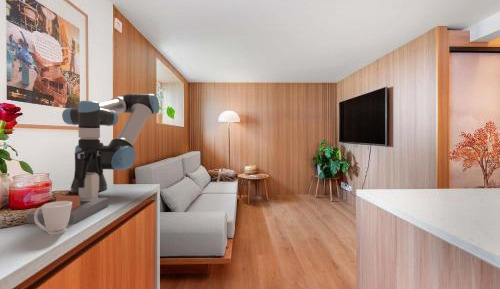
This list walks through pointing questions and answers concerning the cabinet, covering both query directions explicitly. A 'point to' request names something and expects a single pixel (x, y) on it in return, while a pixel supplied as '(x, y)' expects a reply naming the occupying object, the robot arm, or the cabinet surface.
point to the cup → (55, 216)
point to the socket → (76, 210)
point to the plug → (91, 185)
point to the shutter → (73, 199)
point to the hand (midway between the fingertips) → (89, 192)
